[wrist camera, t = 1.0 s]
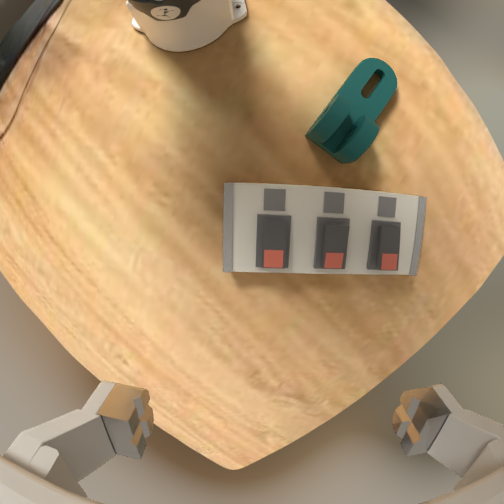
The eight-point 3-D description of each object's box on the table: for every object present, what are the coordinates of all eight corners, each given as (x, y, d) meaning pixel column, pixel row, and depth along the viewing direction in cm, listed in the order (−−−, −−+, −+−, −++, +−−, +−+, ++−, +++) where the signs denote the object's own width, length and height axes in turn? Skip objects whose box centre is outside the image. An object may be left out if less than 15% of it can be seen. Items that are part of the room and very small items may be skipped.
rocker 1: (262, 220, 38) (262, 220, 37) (285, 220, 38) (286, 220, 37) (261, 266, 39) (261, 268, 38) (284, 267, 39) (285, 268, 38)
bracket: (341, 163, 41) (358, 161, 34) (304, 136, 40) (315, 127, 33) (397, 81, 38) (421, 68, 30) (365, 55, 37) (383, 36, 29)
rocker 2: (325, 222, 37) (327, 225, 36) (347, 223, 37) (349, 226, 36) (320, 265, 40) (321, 268, 39) (341, 265, 40) (343, 269, 39)
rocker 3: (378, 225, 38) (382, 225, 37) (397, 226, 38) (400, 227, 37) (376, 269, 39) (379, 270, 38) (394, 269, 39) (398, 270, 38)
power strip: (227, 182, 42) (223, 183, 37) (412, 195, 42) (427, 197, 37) (225, 262, 45) (222, 273, 40) (404, 267, 45) (417, 276, 40)
